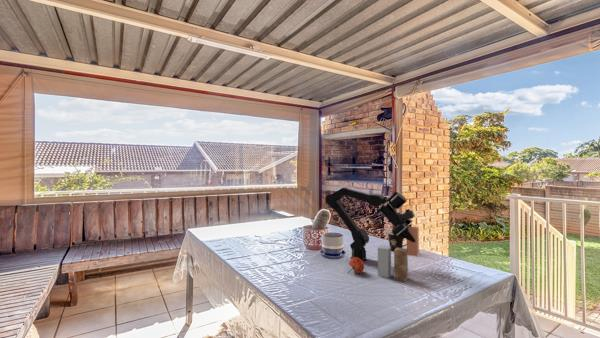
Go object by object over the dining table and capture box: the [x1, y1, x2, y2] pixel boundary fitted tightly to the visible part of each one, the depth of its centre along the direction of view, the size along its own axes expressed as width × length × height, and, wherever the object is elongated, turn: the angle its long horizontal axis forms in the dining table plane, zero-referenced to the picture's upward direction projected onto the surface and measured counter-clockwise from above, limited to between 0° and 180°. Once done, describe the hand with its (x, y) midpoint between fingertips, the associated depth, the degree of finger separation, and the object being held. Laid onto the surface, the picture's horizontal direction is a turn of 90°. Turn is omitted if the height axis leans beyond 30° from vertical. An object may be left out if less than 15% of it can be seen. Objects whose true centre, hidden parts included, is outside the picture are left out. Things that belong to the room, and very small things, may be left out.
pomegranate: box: [347, 257, 365, 275], centre depth 127 cm, size 7×7×10 cm
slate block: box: [377, 244, 392, 279], centre depth 124 cm, size 4×4×12 cm
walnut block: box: [393, 247, 409, 282], centre depth 120 cm, size 4×4×12 cm
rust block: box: [406, 226, 420, 257], centre depth 131 cm, size 4×4×12 cm
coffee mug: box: [387, 231, 407, 253], centre depth 160 cm, size 12×9×10 cm
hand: (415, 240), depth 131 cm, fingers closed on rust block, 4 cm apart
